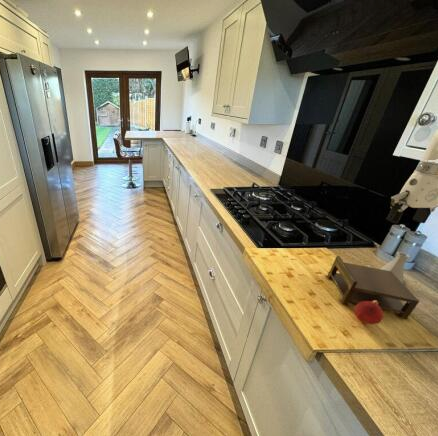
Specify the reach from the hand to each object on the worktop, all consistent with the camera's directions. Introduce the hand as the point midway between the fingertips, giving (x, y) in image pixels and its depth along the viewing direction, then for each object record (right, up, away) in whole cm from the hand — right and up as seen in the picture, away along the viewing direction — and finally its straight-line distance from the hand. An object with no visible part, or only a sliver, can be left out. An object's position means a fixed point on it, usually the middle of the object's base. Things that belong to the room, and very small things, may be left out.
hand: (404, 221), depth 76 cm
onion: (-23, -29, -10) cm, 38 cm away
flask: (+4, -21, +9) cm, 23 cm away
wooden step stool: (-14, -24, 0) cm, 28 cm away
